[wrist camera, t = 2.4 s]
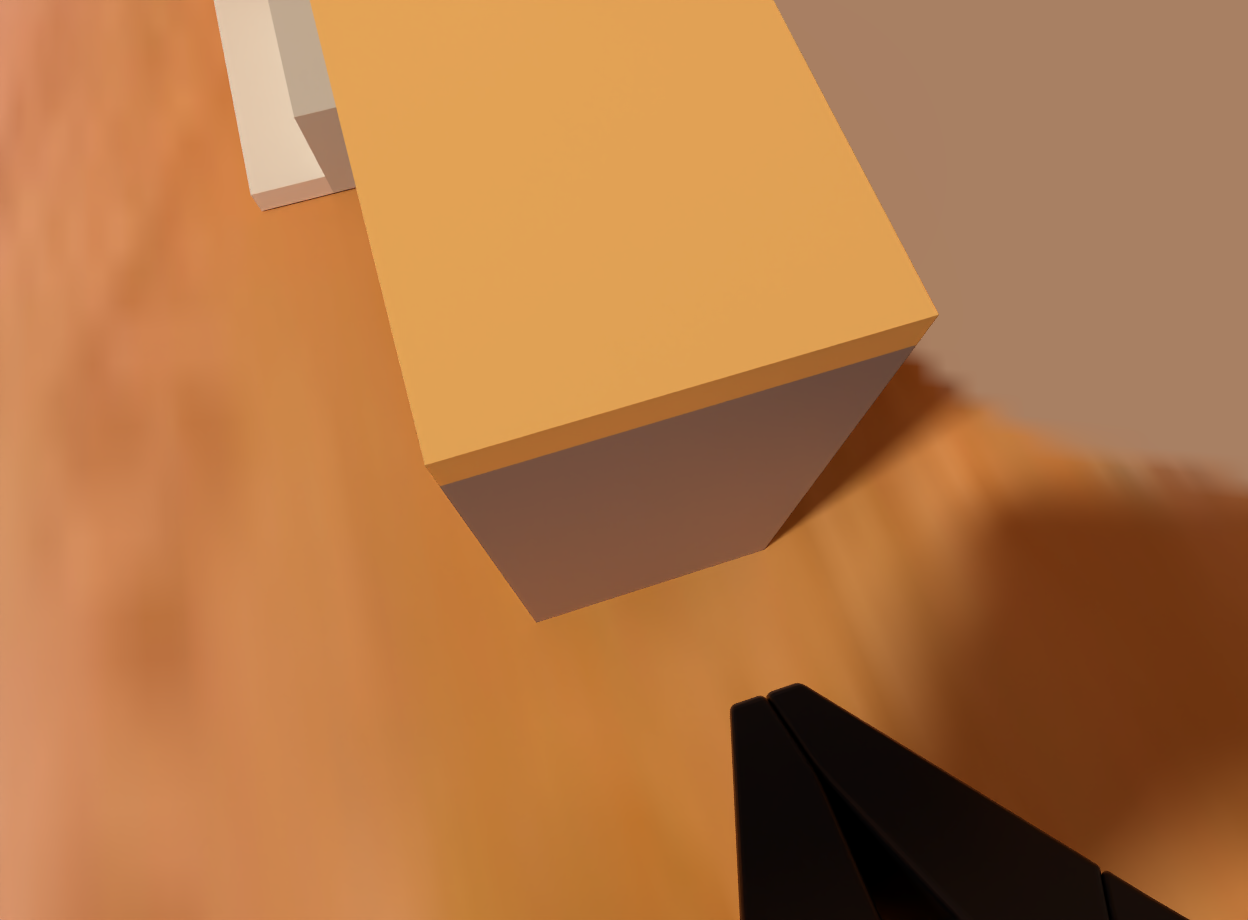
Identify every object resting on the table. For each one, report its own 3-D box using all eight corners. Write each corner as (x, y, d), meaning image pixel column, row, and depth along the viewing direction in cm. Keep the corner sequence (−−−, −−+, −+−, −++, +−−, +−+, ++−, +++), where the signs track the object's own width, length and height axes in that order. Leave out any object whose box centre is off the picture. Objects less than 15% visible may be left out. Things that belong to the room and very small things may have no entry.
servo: (764, 550, 16) (975, 266, 7) (536, 622, 16) (401, 430, 6) (620, 182, 20) (619, -371, 10) (427, 233, 19) (224, -301, 9)
